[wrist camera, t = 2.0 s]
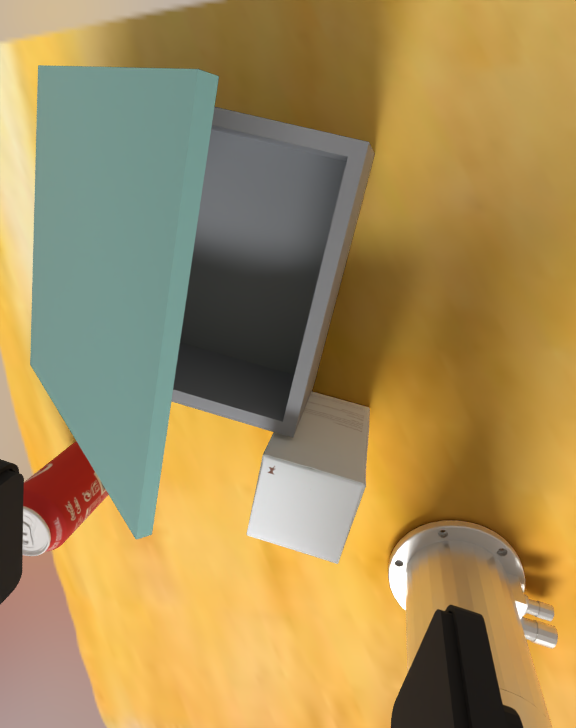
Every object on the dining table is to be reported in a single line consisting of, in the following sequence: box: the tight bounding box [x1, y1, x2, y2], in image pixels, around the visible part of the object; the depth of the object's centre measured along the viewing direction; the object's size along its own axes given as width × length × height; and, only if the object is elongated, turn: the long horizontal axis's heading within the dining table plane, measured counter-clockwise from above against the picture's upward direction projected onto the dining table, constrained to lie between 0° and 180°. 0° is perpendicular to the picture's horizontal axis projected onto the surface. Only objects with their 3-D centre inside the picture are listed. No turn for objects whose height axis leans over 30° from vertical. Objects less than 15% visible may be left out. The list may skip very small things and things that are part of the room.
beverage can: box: [22, 441, 109, 556], centre depth 47 cm, size 6×6×12 cm
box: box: [171, 107, 375, 438], centre depth 38 cm, size 20×20×10 cm
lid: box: [30, 65, 219, 539], centre depth 27 cm, size 20×20×1 cm
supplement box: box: [247, 392, 370, 564], centre depth 40 cm, size 7×7×13 cm
